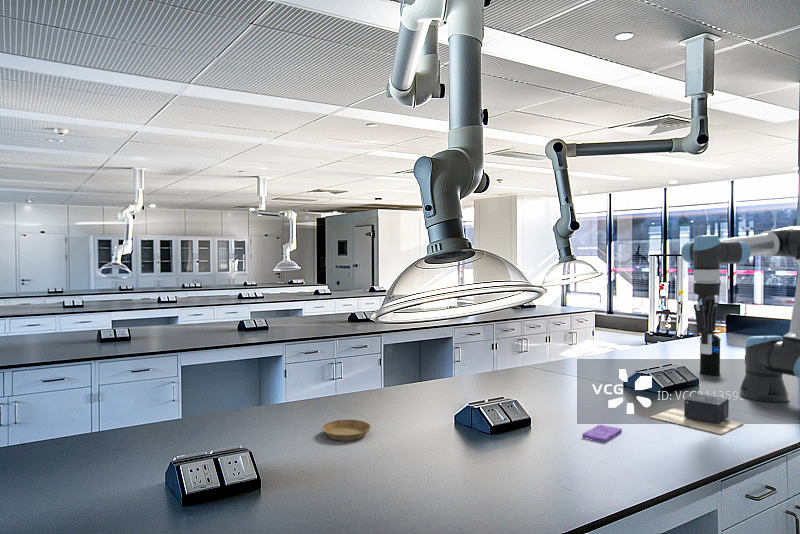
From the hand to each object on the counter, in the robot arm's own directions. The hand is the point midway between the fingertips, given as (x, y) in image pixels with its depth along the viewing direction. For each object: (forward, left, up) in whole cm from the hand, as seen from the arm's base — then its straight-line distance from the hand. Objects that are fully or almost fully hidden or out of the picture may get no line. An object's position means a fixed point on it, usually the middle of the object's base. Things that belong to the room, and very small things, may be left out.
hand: (706, 353), depth 183 cm
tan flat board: (+7, 0, -21) cm, 22 cm away
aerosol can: (-68, -28, -22) cm, 76 cm away
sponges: (+42, -11, -22) cm, 49 cm away
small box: (-3, 0, -18) cm, 18 cm away
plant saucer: (+102, -60, -22) cm, 121 cm away
